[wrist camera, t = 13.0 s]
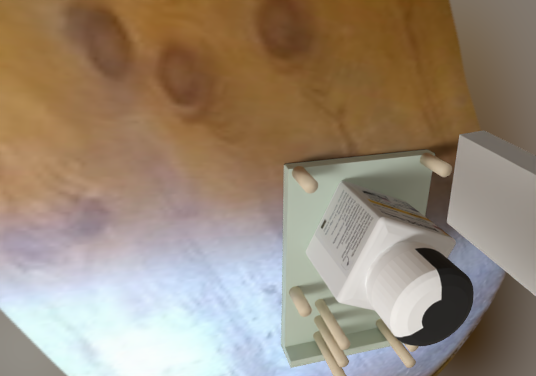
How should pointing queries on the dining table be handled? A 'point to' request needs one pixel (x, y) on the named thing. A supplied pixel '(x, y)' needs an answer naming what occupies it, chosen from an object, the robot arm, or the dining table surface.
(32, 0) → the dining table surface
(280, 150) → the dining table surface
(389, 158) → the dish rack
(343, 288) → the container
